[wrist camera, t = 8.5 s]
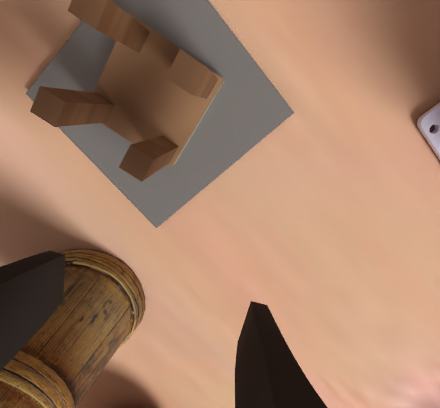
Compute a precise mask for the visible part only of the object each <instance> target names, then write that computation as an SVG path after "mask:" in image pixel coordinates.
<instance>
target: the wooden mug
mask: <svg viewBox="0 0 440 408" xmlns="http://www.w3.org/2000/svg"><path fill="white" fill-rule="evenodd" d="M61 254H65V276H64V296H63V300H62V301H61V303H60V304H59V306H58V307H57V308H56V310H55V311H54V313H53V314H52V315H51V316H50V318H49V319H48V320H47V322H46V323H45V324H44V325H43V326H42V327H41V328H40V330H39V331H38V332H37V333H36V334H35V335H34V336H33V337H32V338H31V339H30V340H29V341H28V342H27V343H26V344H25V346H24V347H23V348H22V349H21V350H20V351H19V352H18V353H17V354H16V355H15V356H14V357H13V358H12V359H11V360H10V361H9V362H8V363H7V364H6V366H5V367H4V368H3V369H2V370H1V371H0V408H75V407H76V406H77V404H78V403H79V401H80V400H81V399H82V397H83V396H84V394H85V393H86V392H87V390H88V389H89V388H90V386H91V385H92V383H93V382H94V381H95V379H96V378H97V376H98V375H99V374H100V372H101V371H102V370H103V368H104V367H105V365H106V364H107V363H108V361H109V360H110V359H111V357H112V356H113V354H114V353H115V352H116V350H117V349H118V348H119V347H120V346H121V345H123V344H124V343H125V342H126V341H127V340H128V339H129V338H130V336H131V335H132V333H133V332H134V330H135V329H136V328H137V326H138V325H139V323H140V322H141V321H142V318H143V315H144V311H145V296H144V293H143V289H142V286H141V284H140V282H139V281H138V279H137V278H136V276H135V275H134V273H133V272H132V271H131V270H130V269H129V268H128V267H127V266H126V265H125V264H124V263H123V262H122V261H120V260H118V259H116V258H114V257H113V256H111V255H108V254H105V253H102V252H98V251H95V250H85V249H78V250H66V251H64V252H61Z"/></svg>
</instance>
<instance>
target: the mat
mask: <svg viewBox="0 0 440 408" xmlns="http://www.w3.org/2000/svg"><path fill="white" fill-rule="evenodd" d="M111 1H112V2H113V3H115V4H116V5H117V6H118V7H120V8H121V9H122V10H123V11H125V12H126V13H127V14H128V13H130V14H132V15H133V16H134V17H136V18H137V19H139V20H140V21H142V22H143V23H144V24H146V25H147V26H149V27H150V28H152V29H153V30H154V31H156V32H157V33H159V34H160V35H162V36H163V37H164V38H166V39H167V40H169V41H170V42H172V43H173V44H174V45H176V46H177V47H179V48H180V49H182V50H183V51H184V52H186V53H187V54H189V55H190V56H192V57H193V58H194V59H196V60H197V61H199V62H200V63H202V64H203V65H204V66H206V67H207V68H209V69H210V70H212V71H213V72H214V73H216V74H217V75H219V76H220V77H222V78H223V79H224V80H225V81H224V83H223V84H222V86H221V88H220V89H219V91H218V93H217V94H216V96H215V98H214V99H213V101H212V103H211V104H210V106H209V108H208V109H207V111H206V113H205V115H204V116H203V118H202V120H201V121H200V123H199V125H198V126H197V128H196V130H195V131H194V133H193V135H192V136H191V138H190V140H189V141H188V143H187V145H186V146H185V148H184V150H183V151H182V153H181V155H180V157H179V158H178V160H177V162H176V163H175V164H174V165H173V166H172V167H169V166H167V165H166V166H164V167H163V168H161V169H160V170H158V171H157V172H155V173H154V174H152V175H151V176H149V177H148V178H146V179H145V180H144V181H142V182H141V181H139V180H138V179H136V178H135V177H133V176H132V175H130V174H128V173H127V172H125V171H124V170H122V169H121V168H119V165H120V164H121V162H122V160H123V158H124V156H125V154H126V152H127V150H128V148H129V146H130V145H131V144H133V143H131V142H130V141H128V140H127V139H125V138H124V137H122V136H121V135H119V134H118V133H116V132H114V131H113V130H111V129H110V128H108V127H107V126H105V125H104V124H102V123H96V124H84V125H72V126H60V127H59V128H60V129H61V130H62V131H63V132H64V133H65V134H66V135H67V136H68V137H69V138H70V139H71V141H72V142H73V143H74V144H75V145H76V146H77V147H78V148H79V149H80V150H81V151H82V152H83V153H84V154H85V155H86V156H87V157H88V158H89V159H90V160H91V161H92V162H93V163H94V164H95V165H96V166H97V167H98V168H99V169H100V170H101V171H102V173H103V174H104V175H105V176H106V177H107V178H108V179H109V180H110V181H111V182H112V183H113V184H114V185H115V186H116V187H117V188H118V189H119V190H120V191H121V192H122V193H123V194H124V195H125V196H126V197H127V198H128V199H129V200H130V201H131V202H132V203H133V204H134V206H135V207H136V208H137V209H138V210H139V211H140V212H141V213H142V214H143V215H144V216H145V217H146V218H147V219H148V220H149V221H150V222H151V223H152V224H153V225H154V226H155V227H156V228H157V227H158V226H160V225H161V224H162V223H163V222H164V221H166V220H167V219H168V218H169V217H170V216H172V215H173V214H174V213H175V212H176V211H178V210H179V209H180V208H181V207H182V206H183V205H185V204H186V203H187V202H188V201H189V200H191V199H192V198H193V197H194V196H195V195H197V194H198V193H199V192H200V191H201V190H203V189H204V188H205V187H206V186H207V185H208V184H210V183H211V182H212V181H213V180H214V179H216V178H217V177H218V176H219V175H220V174H222V173H223V172H224V171H225V170H226V169H228V168H229V167H230V166H231V165H232V164H233V163H235V162H236V161H237V160H238V159H239V158H241V157H242V156H243V155H244V154H245V153H247V152H248V151H249V150H250V149H251V148H253V147H254V146H255V145H256V144H257V143H258V142H260V141H261V140H262V139H263V138H264V137H266V136H267V135H268V134H269V133H270V132H272V131H273V130H274V129H275V128H276V127H278V126H279V125H280V124H281V123H282V122H283V121H285V120H286V119H287V118H288V117H289V116H291V115H292V114H293V113H294V112H293V111H292V109H291V108H290V107H289V105H288V104H287V103H286V101H285V100H284V99H283V97H282V96H281V95H280V94H279V92H278V91H277V90H276V88H275V87H274V86H273V84H272V83H271V82H270V80H269V79H268V78H267V77H266V75H265V74H264V73H263V71H262V70H261V69H260V67H259V66H258V65H257V63H256V62H255V61H254V60H253V58H252V57H251V56H250V54H249V53H248V52H247V50H246V49H245V48H244V46H243V45H242V44H241V43H240V41H239V40H238V39H237V37H236V36H235V35H234V33H233V32H232V31H231V29H230V28H229V27H228V26H227V24H226V23H225V22H224V20H223V19H222V18H221V16H220V15H219V14H218V12H217V11H216V10H215V8H214V7H213V6H212V5H211V3H210V2H209V1H208V0H111ZM115 43H116V40H114V39H113V38H111V37H109V36H107V35H105V34H103V33H101V32H100V31H98V30H96V29H94V28H93V27H91V26H90V25H88V24H87V23H85V22H84V21H83V22H82V23H81V24H80V26H79V27H78V28H77V29H76V31H75V32H74V33H73V35H72V36H71V37H70V38H69V40H68V41H67V42H66V43H65V45H64V46H63V47H62V48H61V50H60V51H59V52H58V53H57V55H56V56H55V57H54V58H53V60H52V61H51V62H50V64H49V65H48V66H47V67H46V69H45V70H44V71H43V72H42V74H41V75H40V76H39V77H38V79H37V80H36V81H35V82H34V84H33V85H32V86H31V87H30V89H29V90H28V91H27V92H26V94H27V95H28V96H29V97H30V98H31V99H32V100H33V101H34V100H35V97H36V95H37V92H38V89H39V87H40V86H43V87H51V88H60V89H68V90H76V91H85V92H94V90H95V88H96V85H97V83H98V81H99V79H100V76H101V74H102V72H103V70H104V67H105V65H106V63H107V61H108V58H109V56H110V54H111V52H112V49H113V47H114V45H115Z"/></svg>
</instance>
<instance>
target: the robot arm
mask: <svg viewBox="0 0 440 408" xmlns="http://www.w3.org/2000/svg"><path fill="white" fill-rule="evenodd" d="M432 125H434V126H435V129H434V131H433V132H432V133H430V131H429V129H430V127H431V126H432ZM417 126H418V128H419V130H420V131H421V133H422V134H423V136H424V137H425V139H426V140H427V142H428V143H429V145H430V146H431V148H432V149H433V151H434V152H435V154H436V155H437V157H438V158H439V160H440V102H439V103H438V104H437V105H435V106H434V107H433V108H431V109H430V110H428V111H427V112H426V113H424V114H423V115H422V116H421V117H420V118H419V119H418V121H417ZM64 276H65V254H61V253H57V252H53V251H48V252H44V253H41V254H37V255H34V256H31V257H28V258H25V259H22V260H19V261H16V262H13V263H10V264H8V265H5V266H2V267H0V371H1V370H2V369H3V368H4V367H5V366H6V364H7V363H8V362H9V361H10V360H11V359H12V358H13V357H14V356H15V355H16V354H17V353H18V352H19V351H20V350H21V349H22V348H23V347H24V346H25V344H26V343H27V342H28V341H29V340H30V339H31V338H32V337H33V336H34V335H35V334H36V333H37V332H38V331H39V330H40V328H41V327H42V326H43V325H44V324H45V323H46V322H47V320H48V319H49V318H50V316H51V315H52V314H53V313H54V311H55V310H56V308H57V307H58V306H59V304H60V303H61V301H62V300H63V296H64ZM235 408H327V406H326V405H325V404H324V402H323V401H322V399H321V398H320V397H319V395H318V394H317V393H316V391H315V390H314V388H313V387H312V385H311V384H310V382H309V381H308V379H307V378H306V376H305V374H304V373H303V371H302V370H301V368H300V366H299V365H298V363H297V361H296V360H295V358H294V356H293V354H292V353H291V351H290V349H289V347H288V345H287V344H286V342H285V340H284V338H283V336H282V334H281V332H280V330H279V328H278V326H277V324H276V322H275V320H274V318H273V316H272V314H271V312H270V310H269V308H268V306H267V305H264V304H260V303H256V302H252V301H251V303H250V306H249V309H248V312H247V315H246V318H245V322H244V325H243V328H242V331H241V334H240V337H239V340H238V345H237V354H236V365H235Z"/></svg>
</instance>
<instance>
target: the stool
mask: <svg viewBox="0 0 440 408" xmlns="http://www.w3.org/2000/svg"><path fill="white" fill-rule="evenodd" d="M68 11H69V12H71V13H72V14H74V15H75V16H77V17H78V18H80V19H81V20H83V21H84V22H85V23H87V24H88V25H90V26H91V27H93V28H94V29H96V30H98V31H100V32H101V33H103V34H105V35H107V36H109V37H111V38H113V39H114V40H116V43H115V45H114V47H113V49H112V52H111V54H110V56H109V58H108V61H107V63H106V65H105V67H104V70H103V72H102V74H101V76H100V79H99V81H98V83H97V85H96V88H95V90H94V92H85V91H76V90H68V89H60V88H51V87H43V86H40V87H39V89H38V92H37V95H36V97H35V100H34V103H33V105H32V108H31V112H32V113H34V114H35V115H37V116H38V117H40V118H42V119H43V120H45V121H46V122H48V123H49V124H51V125H53V126H54V127H60V126H72V125H84V124H96V123H102V124H104V125H105V126H107V127H108V128H110V129H111V130H113V131H114V132H116V133H118V134H119V135H121V136H122V137H124V138H125V139H127V140H128V141H130V142H131V143H133V144H131V145H130V146H129V148H128V150H127V152H126V154H125V156H124V158H123V160H122V162H121V164H120V165H119V168H121V169H122V170H124V171H125V172H127V173H128V174H130V175H132V176H133V177H135V178H136V179H138V180H139V181H141V182H142V181H144V180H145V179H146V178H148V177H149V176H151V175H152V174H154V173H155V172H157V171H158V170H160V169H161V168H163V167H164V166H166V165H167V166H169V167H172V166H173V165H174V164H175V163H176V162H177V160H178V158H179V157H180V155H181V153H182V151H183V150H184V148H185V146H186V145H187V143H188V141H189V140H190V138H191V136H192V135H193V133H194V131H195V130H196V128H197V126H198V125H199V123H200V121H201V120H202V118H203V116H204V115H205V113H206V111H207V109H208V108H209V106H210V104H211V103H212V101H213V99H214V98H215V96H216V94H217V93H218V91H219V89H220V88H221V86H222V84H223V83H224V81H225V80H224V79H223V78H222V77H220V76H219V75H217V74H216V73H214V72H213V71H212V70H210V69H209V68H207V67H206V66H204V65H203V64H202V63H200V62H199V61H197V60H196V59H194V58H193V57H192V56H190V55H189V54H187V53H186V52H184V51H183V50H182V49H180V48H179V47H177V46H176V45H174V44H173V43H172V42H170V41H169V40H167V39H166V38H164V37H163V36H162V35H160V34H159V33H157V32H156V31H154V30H153V29H152V28H150V27H149V26H147V25H146V24H144V23H143V22H142V21H140V20H139V19H137V18H136V17H134V16H133V15H132V14H130V13H128V14H127V13H126V12H125V11H123V10H122V9H121V8H120V7H118V6H117V5H116V4H115V3H113V2H112V1H111V0H72V1H71V4H70V7H69V9H68Z"/></svg>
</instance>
